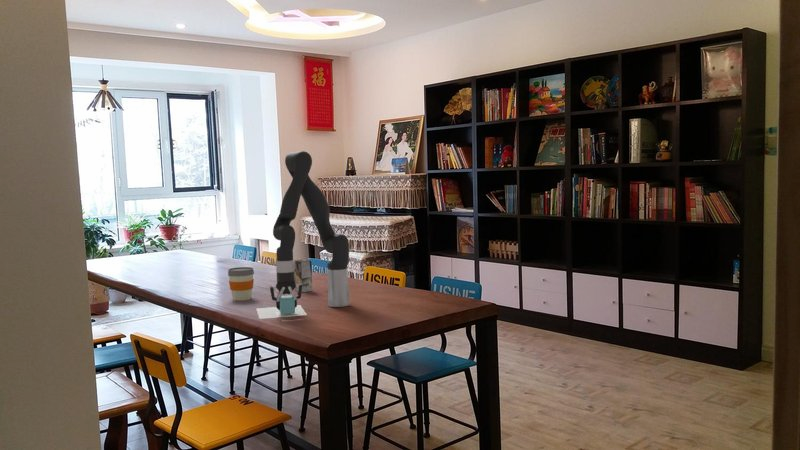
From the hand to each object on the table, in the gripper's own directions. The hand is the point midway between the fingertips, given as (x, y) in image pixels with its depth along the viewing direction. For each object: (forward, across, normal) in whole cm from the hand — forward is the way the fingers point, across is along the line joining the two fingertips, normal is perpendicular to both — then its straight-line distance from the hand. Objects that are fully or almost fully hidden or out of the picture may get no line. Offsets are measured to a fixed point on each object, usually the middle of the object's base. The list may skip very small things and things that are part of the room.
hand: (286, 308), depth 264 cm
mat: (+3, -2, +6) cm, 7 cm away
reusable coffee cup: (+3, -17, +47) cm, 50 cm away
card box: (+1, 0, 0) cm, 1 cm away
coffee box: (+3, +15, +57) cm, 59 cm away
